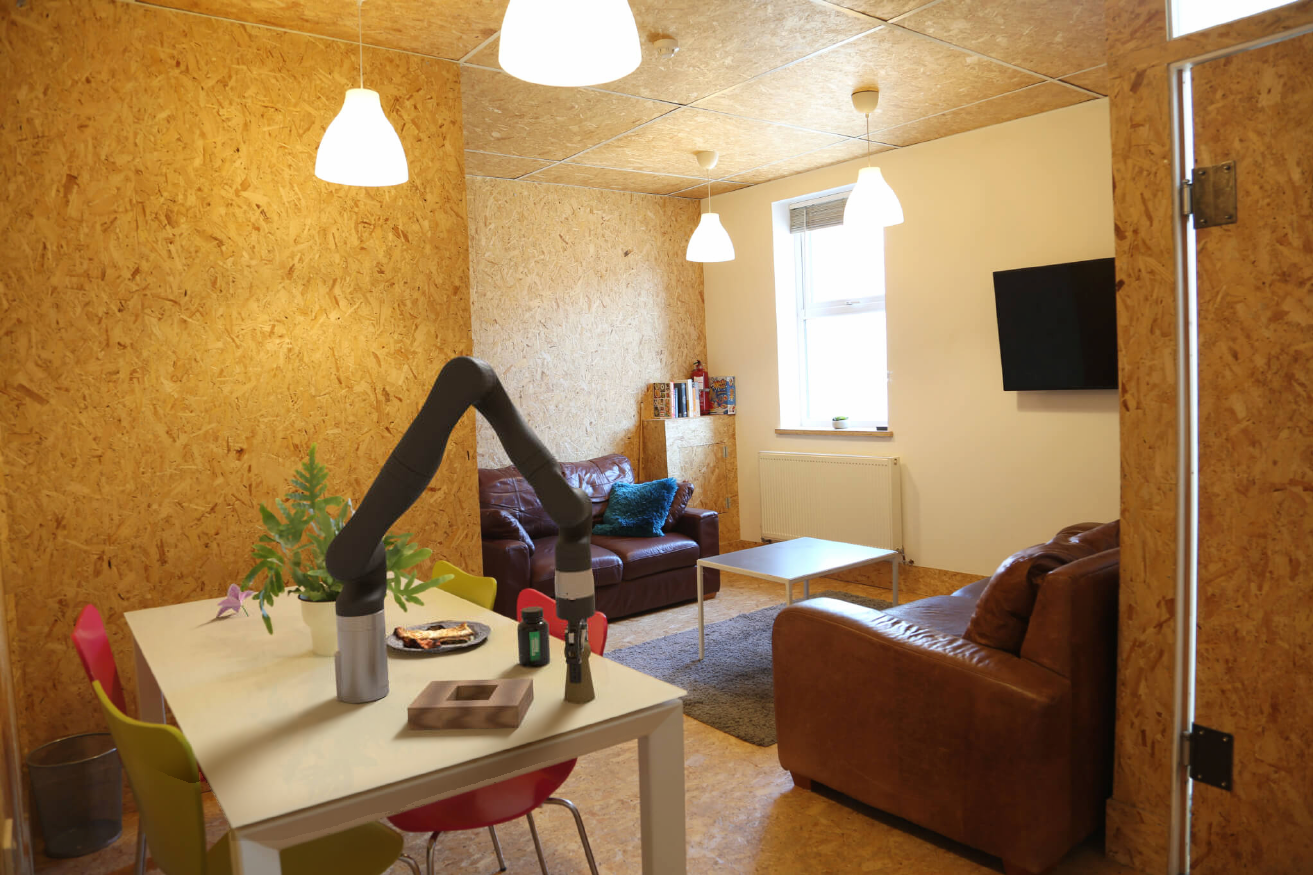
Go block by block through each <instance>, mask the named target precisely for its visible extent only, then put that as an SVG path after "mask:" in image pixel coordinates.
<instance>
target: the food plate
mask: <svg viewBox="0 0 1313 875" xmlns="http://www.w3.org/2000/svg"><path fill="white" fill-rule="evenodd" d="M393 629H394V630H393V632H392V633H390V634H389V635H386V644H387V647H389V648H390V647H391V648H392V649H393V650H397V651H398V650H399V651H400V652H408V651H411V652H413V653H415V652H419V651H420V652H424V653H429V654H432V653H433V654H437V653H438V654H441V653H444V652H447V651H454V649H455V650H456V649H461V648H463V647H468V646H472V645H475V644H478V643H480V642H482V641H483V640H484V639H485V638H487V637H489V636H490V634H491V633H492V630H491V627H490V625H488V624H485V623H483V622H478V621H473V620H472V621H471V620H454V619H453V620H451V619H450V620H446V621H445V620H439V621H438V620H437V621H433V622H427V623H422V624H418V625H417V624H416V625H413V626H409V627H403V626H396V627H395V628H393ZM472 637H473V640H472Z"/></svg>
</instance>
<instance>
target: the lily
mask: <svg viewBox="0 0 1313 875" xmlns="http://www.w3.org/2000/svg"><path fill="white" fill-rule="evenodd" d="M249 583H250V587H251V585H252V584H253V581H251V582H249ZM240 589H241V587H239V586H238V585H237V584H236V583H232V584H231V585H230V586H229V588H228V590H227V594H226V598H224V599H223V600H220V602H218V603H216V606H218V607H220V609H218V610H219V611H217V613H216V617H215V618H216V619H217V618H219V617H221V616H222V615H223V614H224V613H226V612H227V611H229V610H231V609H232V611H234V612H236V613H239V612H240V609H241V608H242V609H243V610H244V612H245V614H246V615H247V617H249V613H248V612H247V610H246V609H245V607H244V606H243V602H244V600H246V599H247V598H249V597H251V596H253V595H254V594H255V592H256V591H254V590H249V589H248V590H247V591H244V592H241V590H240Z"/></svg>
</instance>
